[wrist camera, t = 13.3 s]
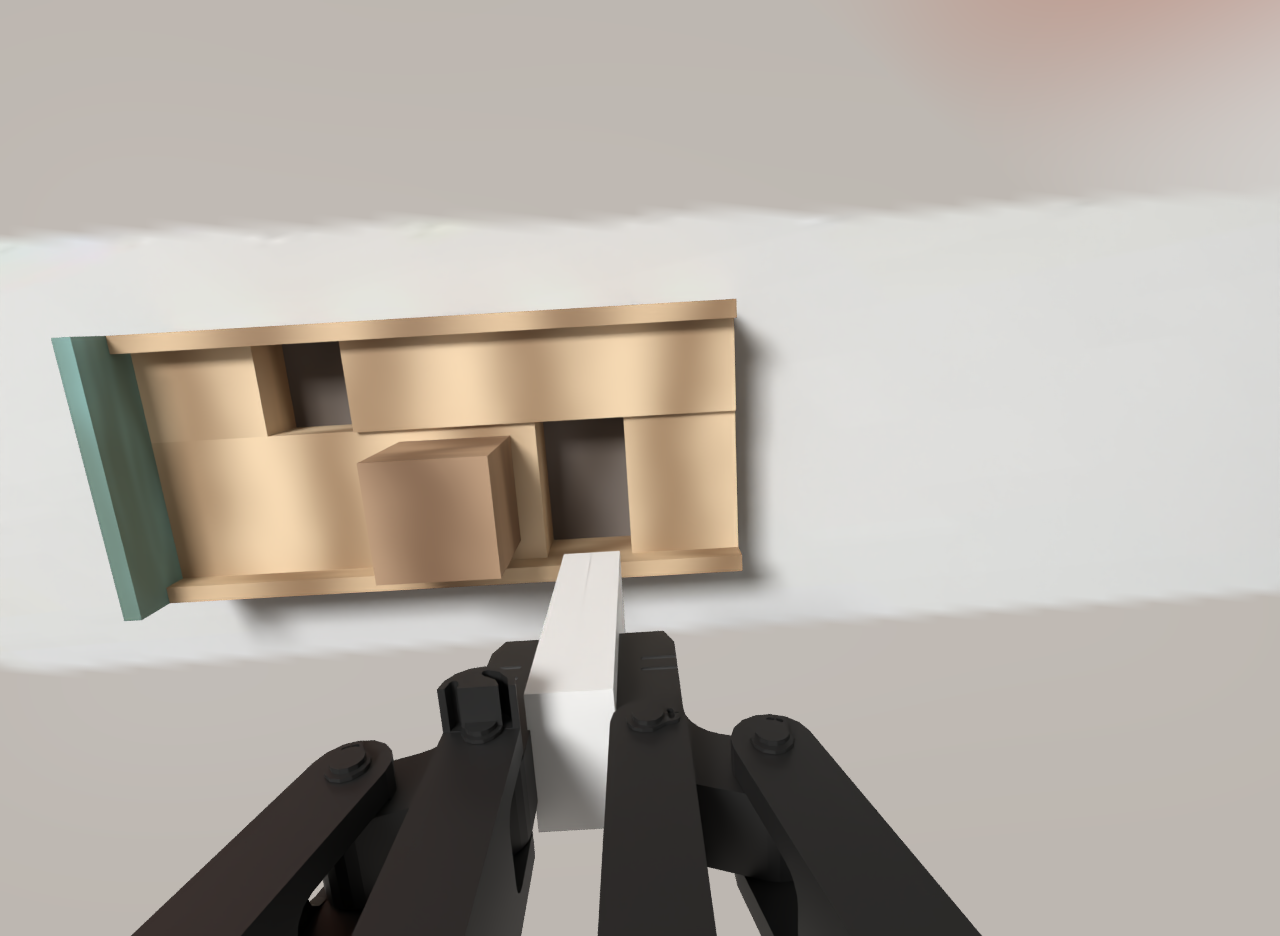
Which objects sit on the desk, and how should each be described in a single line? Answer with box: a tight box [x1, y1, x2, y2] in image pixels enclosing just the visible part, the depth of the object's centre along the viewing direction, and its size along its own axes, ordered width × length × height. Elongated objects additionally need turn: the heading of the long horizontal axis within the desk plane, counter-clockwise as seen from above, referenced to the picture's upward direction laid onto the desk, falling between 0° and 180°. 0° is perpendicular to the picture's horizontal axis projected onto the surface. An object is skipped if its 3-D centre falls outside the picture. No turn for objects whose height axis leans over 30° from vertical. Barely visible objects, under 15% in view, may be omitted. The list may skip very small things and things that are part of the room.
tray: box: [51, 299, 742, 621], centre depth 29 cm, size 27×12×6 cm, turn 93°
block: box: [357, 435, 521, 586], centre depth 27 cm, size 5×5×4 cm
